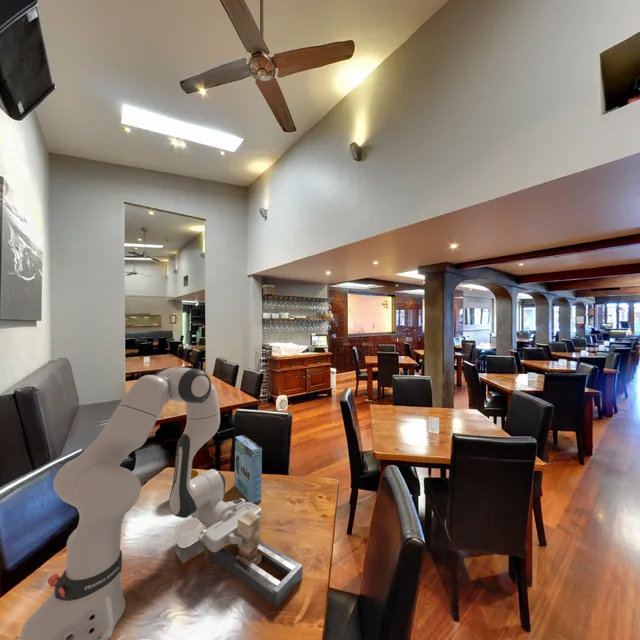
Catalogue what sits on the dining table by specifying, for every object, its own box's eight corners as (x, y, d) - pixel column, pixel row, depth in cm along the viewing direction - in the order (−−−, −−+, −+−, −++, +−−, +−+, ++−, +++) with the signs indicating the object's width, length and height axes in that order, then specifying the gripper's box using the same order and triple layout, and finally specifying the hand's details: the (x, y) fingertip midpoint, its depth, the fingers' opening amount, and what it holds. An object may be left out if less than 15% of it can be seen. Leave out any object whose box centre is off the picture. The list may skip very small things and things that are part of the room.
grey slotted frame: (276, 607, 78) (277, 592, 78) (213, 560, 94) (213, 547, 94) (302, 579, 87) (302, 565, 87) (240, 540, 103) (240, 528, 103)
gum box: (261, 501, 126) (262, 447, 127) (250, 505, 123) (251, 450, 124) (243, 482, 142) (244, 434, 142) (233, 485, 139) (234, 436, 139)
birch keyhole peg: (247, 573, 89) (248, 526, 89) (234, 564, 92) (235, 519, 92) (261, 560, 93) (262, 516, 94) (248, 552, 97) (249, 509, 97)
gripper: (195, 526, 92) (223, 545, 84) (245, 495, 109) (273, 509, 101) (195, 546, 92) (223, 567, 84) (245, 513, 108) (272, 528, 101)
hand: (250, 535), depth 92 cm, fingers closed on birch keyhole peg, 5 cm apart
